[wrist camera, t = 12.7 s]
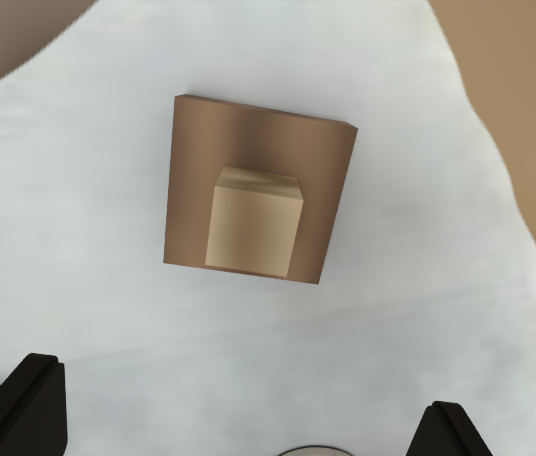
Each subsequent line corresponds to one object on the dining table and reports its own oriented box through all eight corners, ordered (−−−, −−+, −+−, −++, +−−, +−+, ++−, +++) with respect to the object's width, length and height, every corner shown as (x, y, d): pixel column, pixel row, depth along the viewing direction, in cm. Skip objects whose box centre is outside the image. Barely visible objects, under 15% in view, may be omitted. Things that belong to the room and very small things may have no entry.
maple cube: (296, 177, 25) (303, 200, 20) (282, 242, 27) (286, 277, 22) (224, 165, 25) (214, 185, 20) (215, 232, 26) (205, 264, 22)
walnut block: (344, 122, 28) (357, 128, 24) (311, 260, 32) (318, 284, 28) (186, 94, 27) (174, 96, 23) (175, 241, 31) (163, 262, 27)
